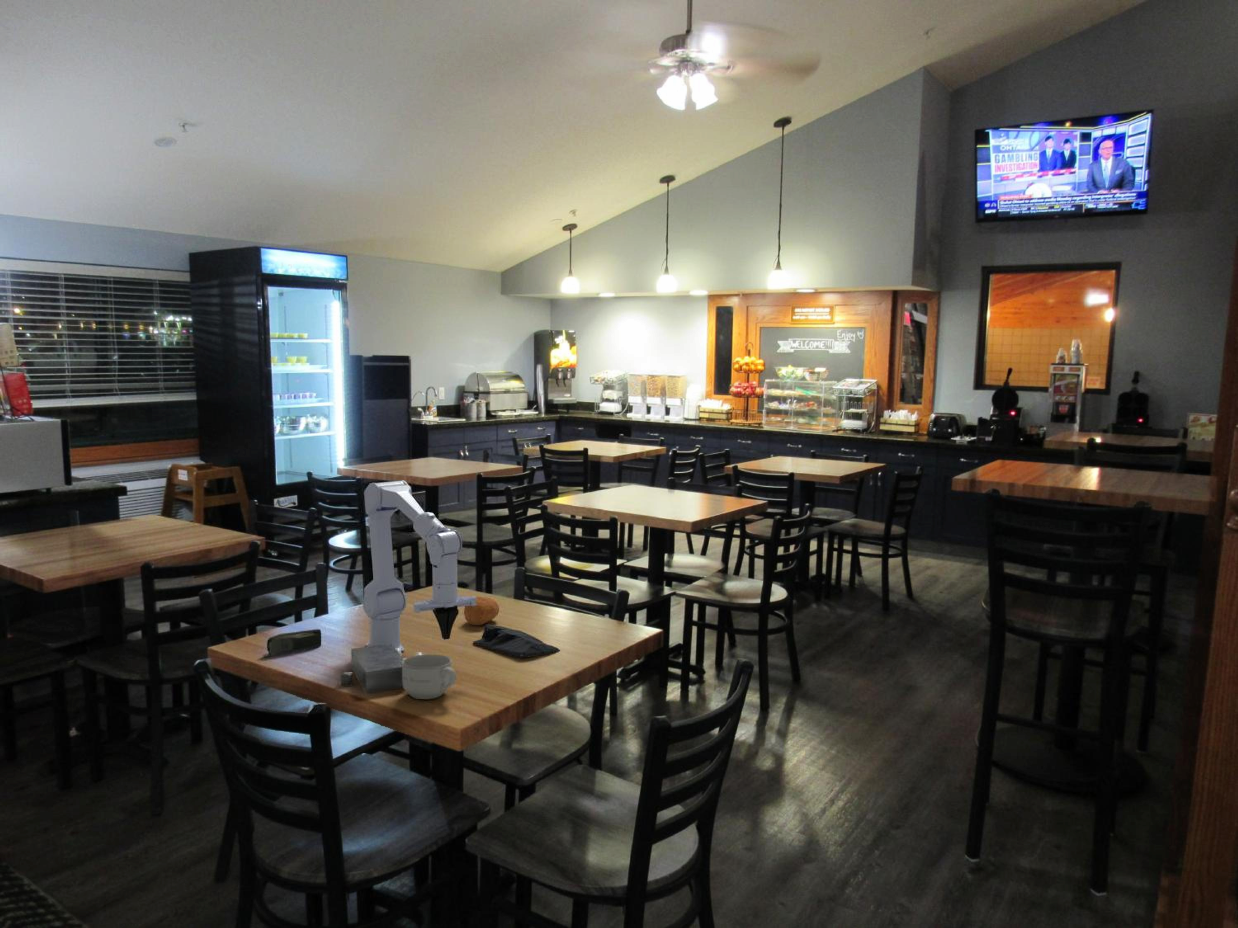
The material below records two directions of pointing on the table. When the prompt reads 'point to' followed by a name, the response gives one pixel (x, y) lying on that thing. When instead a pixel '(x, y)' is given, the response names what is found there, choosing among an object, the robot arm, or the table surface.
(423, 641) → the table surface
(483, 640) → the black cloth
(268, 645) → the dark green rounded block
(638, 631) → the table surface
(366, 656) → the rack
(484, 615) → the potato
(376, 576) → the robot arm
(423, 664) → the teacup
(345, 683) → the black dial
